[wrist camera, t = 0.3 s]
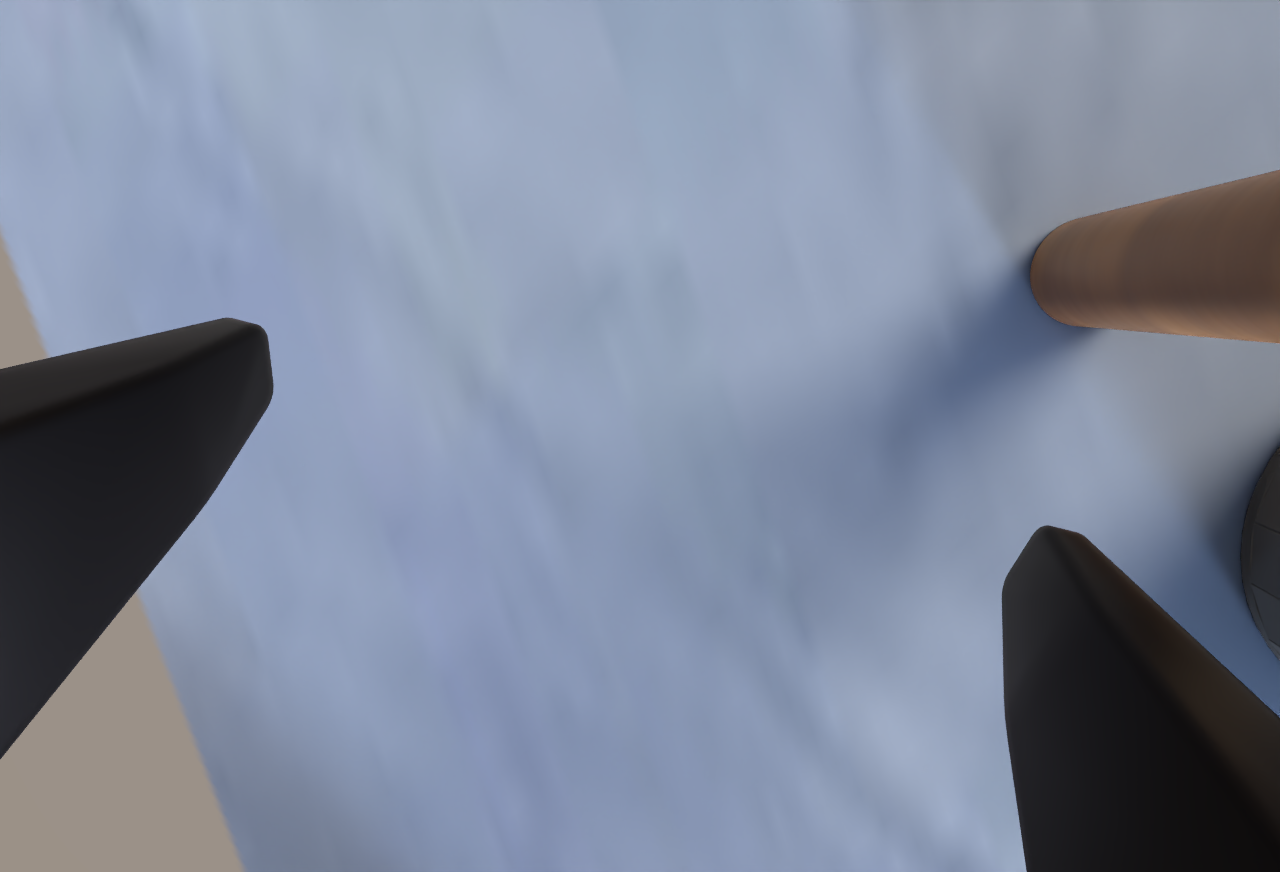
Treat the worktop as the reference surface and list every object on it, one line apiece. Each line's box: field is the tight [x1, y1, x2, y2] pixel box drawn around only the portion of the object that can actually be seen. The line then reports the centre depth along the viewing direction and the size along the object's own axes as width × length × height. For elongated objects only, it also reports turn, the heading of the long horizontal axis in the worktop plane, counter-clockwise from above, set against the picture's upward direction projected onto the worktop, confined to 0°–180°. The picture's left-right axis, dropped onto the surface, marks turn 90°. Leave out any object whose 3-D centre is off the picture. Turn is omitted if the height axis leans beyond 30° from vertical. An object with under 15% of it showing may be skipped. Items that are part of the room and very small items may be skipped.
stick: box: [1030, 170, 1280, 343], centre depth 15 cm, size 3×3×12 cm
